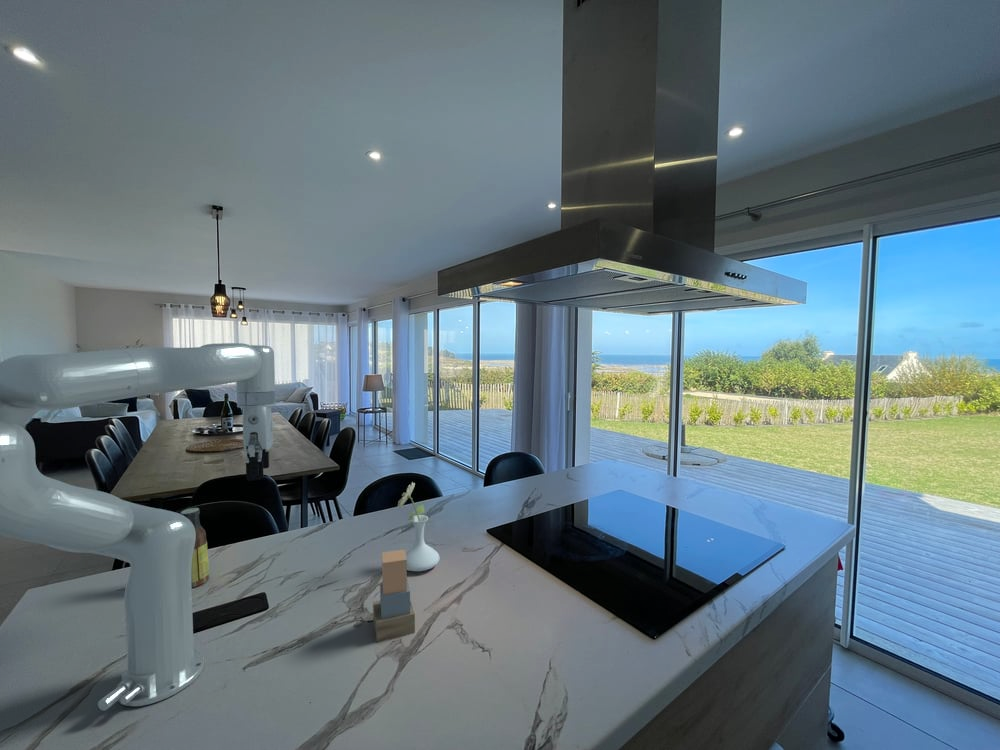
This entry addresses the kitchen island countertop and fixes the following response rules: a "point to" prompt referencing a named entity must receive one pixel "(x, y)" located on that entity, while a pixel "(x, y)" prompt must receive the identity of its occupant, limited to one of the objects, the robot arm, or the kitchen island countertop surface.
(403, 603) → the slate-grey cube
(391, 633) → the light brown wooden plinth
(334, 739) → the kitchen island countertop surface
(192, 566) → the sauce bottle
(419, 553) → the flower in vase
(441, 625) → the kitchen island countertop surface
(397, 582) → the peach rectangular block
